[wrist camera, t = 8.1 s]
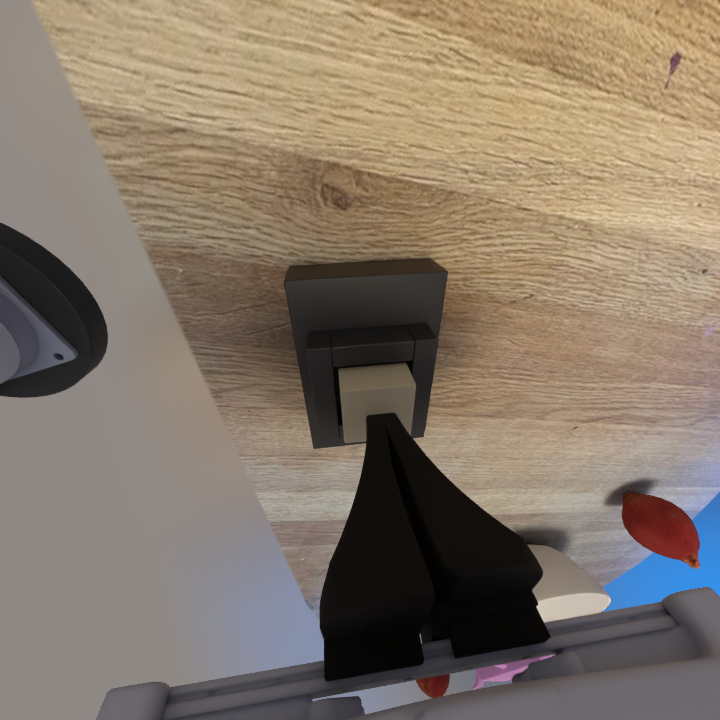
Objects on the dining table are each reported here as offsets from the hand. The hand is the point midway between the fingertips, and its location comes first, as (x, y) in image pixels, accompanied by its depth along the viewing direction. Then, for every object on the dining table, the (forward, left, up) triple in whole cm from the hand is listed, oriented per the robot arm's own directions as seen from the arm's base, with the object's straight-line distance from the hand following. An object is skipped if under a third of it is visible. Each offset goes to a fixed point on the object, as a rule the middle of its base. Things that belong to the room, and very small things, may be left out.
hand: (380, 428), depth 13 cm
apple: (-7, -85, -7) cm, 86 cm away
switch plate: (0, 0, -7) cm, 7 cm away
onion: (+26, -31, -7) cm, 41 cm away
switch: (0, 0, -3) cm, 3 cm away
